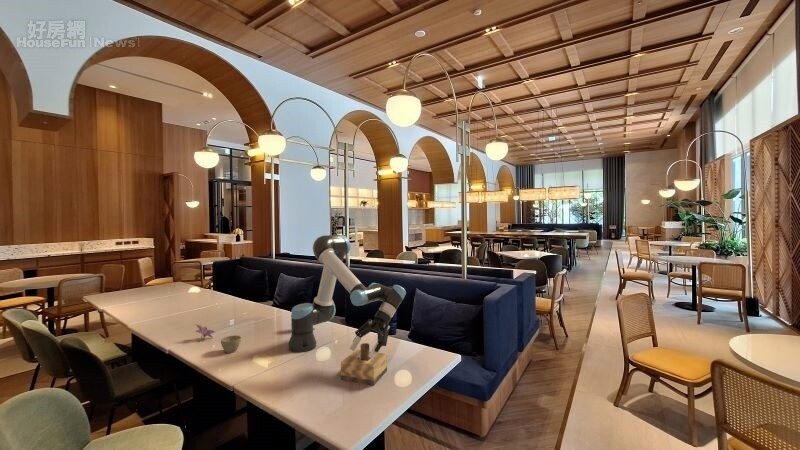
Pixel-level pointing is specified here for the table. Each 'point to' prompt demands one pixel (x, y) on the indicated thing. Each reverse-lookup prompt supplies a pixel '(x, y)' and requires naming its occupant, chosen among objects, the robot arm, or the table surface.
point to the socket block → (363, 368)
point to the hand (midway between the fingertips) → (360, 353)
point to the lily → (204, 331)
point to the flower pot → (230, 343)
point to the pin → (365, 351)
